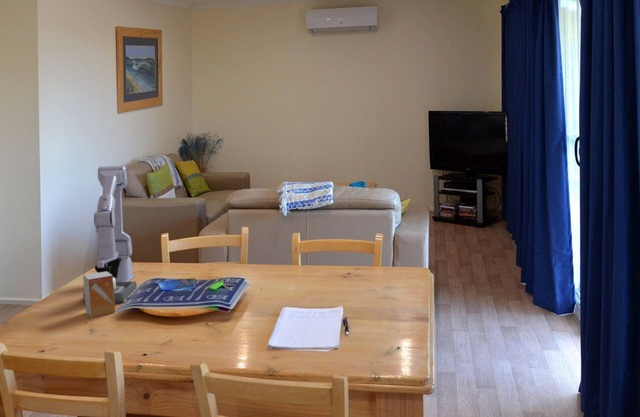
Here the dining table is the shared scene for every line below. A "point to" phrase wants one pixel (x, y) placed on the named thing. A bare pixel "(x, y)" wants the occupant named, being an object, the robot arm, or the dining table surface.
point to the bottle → (114, 284)
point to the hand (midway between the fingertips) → (109, 281)
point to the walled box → (122, 290)
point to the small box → (99, 294)
